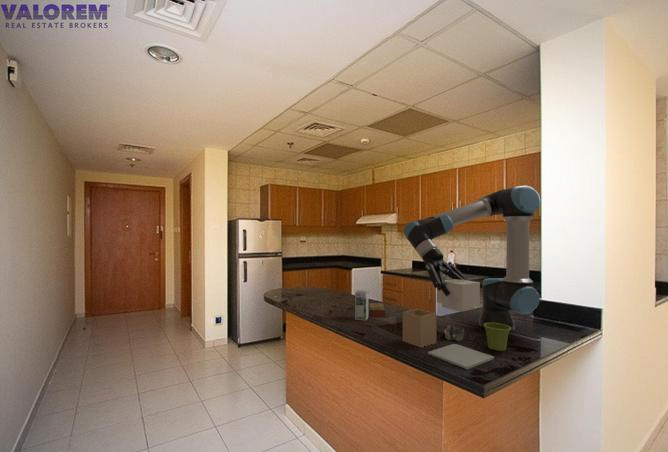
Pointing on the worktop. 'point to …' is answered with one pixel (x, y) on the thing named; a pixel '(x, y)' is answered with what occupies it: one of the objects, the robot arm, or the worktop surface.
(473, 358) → the board
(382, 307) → the carton
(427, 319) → the brown open box
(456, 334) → the egg carton
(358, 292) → the syrup box
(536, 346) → the worktop surface
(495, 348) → the plant pot
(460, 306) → the off-white cube block
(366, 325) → the worktop surface
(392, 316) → the worktop surface
